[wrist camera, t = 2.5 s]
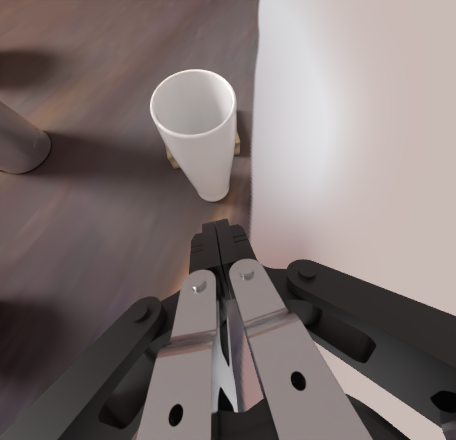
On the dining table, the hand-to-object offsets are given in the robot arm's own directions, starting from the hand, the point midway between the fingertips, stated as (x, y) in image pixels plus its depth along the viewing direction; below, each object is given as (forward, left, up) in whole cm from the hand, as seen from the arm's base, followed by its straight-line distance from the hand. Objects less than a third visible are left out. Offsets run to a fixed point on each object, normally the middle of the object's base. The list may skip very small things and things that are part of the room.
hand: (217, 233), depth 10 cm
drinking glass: (0, +10, -15) cm, 18 cm away
